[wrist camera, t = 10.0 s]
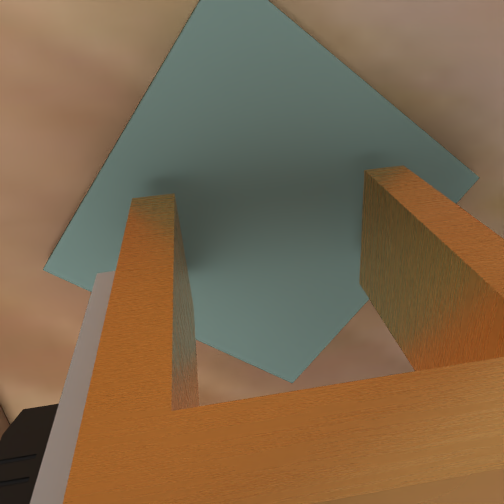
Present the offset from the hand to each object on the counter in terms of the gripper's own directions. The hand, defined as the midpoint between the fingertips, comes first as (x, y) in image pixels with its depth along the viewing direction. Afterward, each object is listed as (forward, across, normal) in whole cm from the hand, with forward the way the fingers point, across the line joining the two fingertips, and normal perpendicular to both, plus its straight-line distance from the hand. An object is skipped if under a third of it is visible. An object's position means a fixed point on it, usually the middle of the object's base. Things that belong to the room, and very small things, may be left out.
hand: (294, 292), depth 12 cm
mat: (+5, 0, 0) cm, 5 cm away
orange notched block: (+3, 0, 0) cm, 3 cm away
